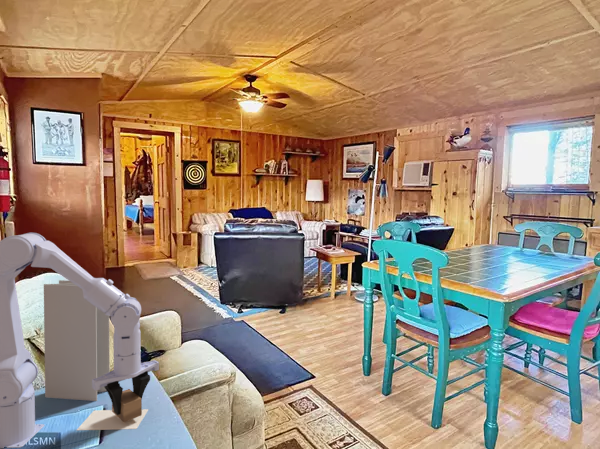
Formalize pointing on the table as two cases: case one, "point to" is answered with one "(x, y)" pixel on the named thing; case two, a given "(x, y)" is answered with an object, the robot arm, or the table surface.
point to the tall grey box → (73, 343)
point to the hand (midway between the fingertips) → (127, 408)
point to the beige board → (109, 421)
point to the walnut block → (129, 406)
